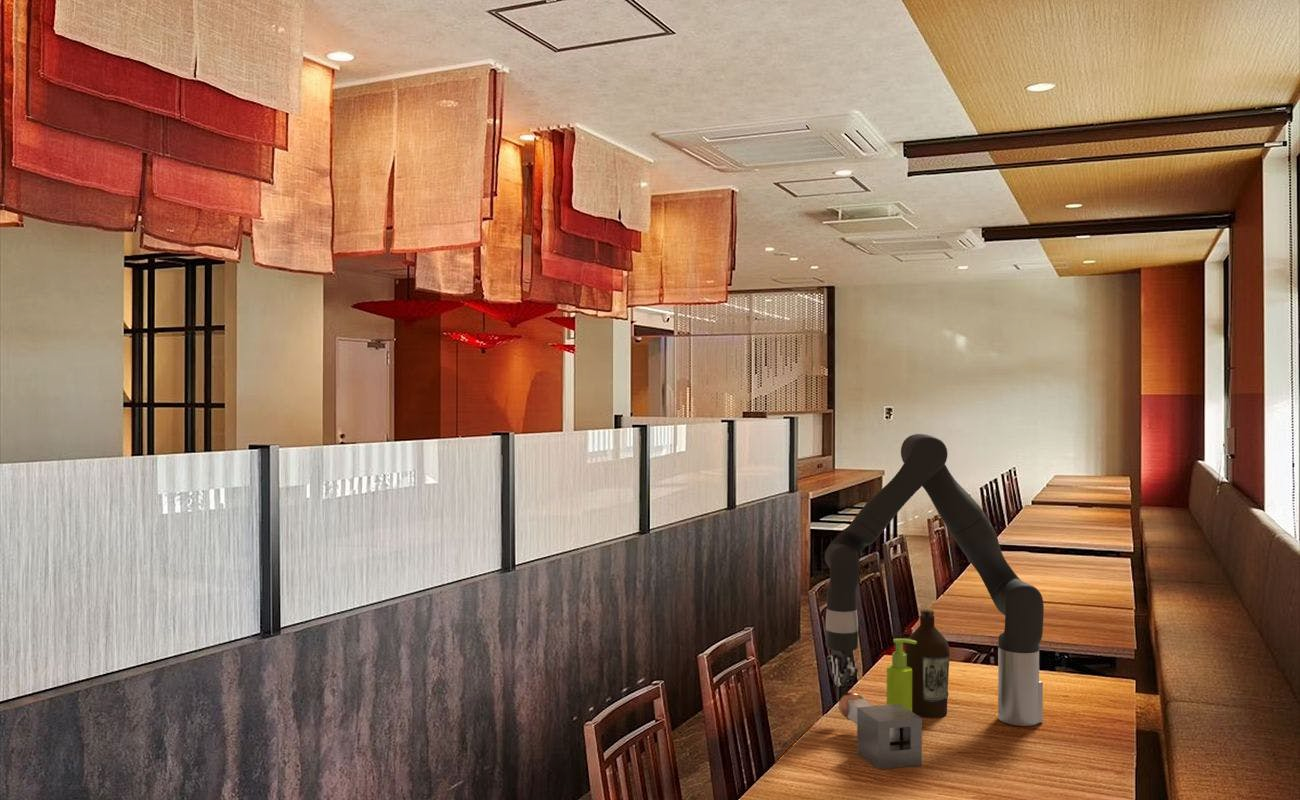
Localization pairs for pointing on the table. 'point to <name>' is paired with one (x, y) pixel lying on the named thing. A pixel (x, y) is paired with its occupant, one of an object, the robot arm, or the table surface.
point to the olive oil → (928, 668)
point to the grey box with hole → (877, 736)
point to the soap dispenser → (900, 677)
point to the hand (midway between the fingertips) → (841, 701)
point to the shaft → (849, 711)
